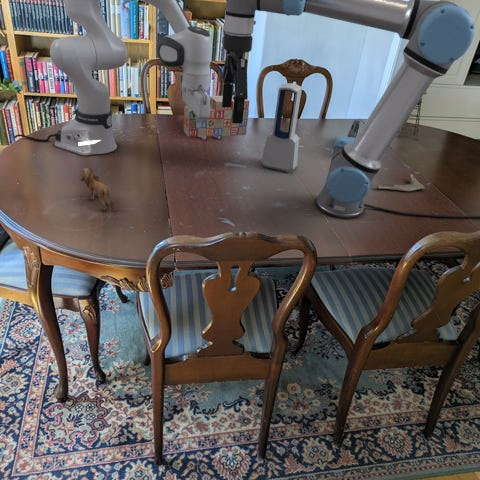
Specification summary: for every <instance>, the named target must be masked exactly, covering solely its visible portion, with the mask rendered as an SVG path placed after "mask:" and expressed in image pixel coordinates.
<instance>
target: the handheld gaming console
mask: <svg viewBox="0 0 480 480" xmlns="http://www.w3.org/2000/svg"><path fill="white" fill-rule="evenodd" d="M360 123H361V122H360V120H358V119H354V120H353V122H352V124H351V127H350V129H349V131H348V133H347V135H346V137H353V138H356V137H357V135H358V134H359V129H360Z"/></svg>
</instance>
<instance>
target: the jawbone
mask: <svg viewBox="0 0 480 480" xmlns="http://www.w3.org/2000/svg"><path fill="white" fill-rule="evenodd" d="M409 179H410V184H409V183H408V184H393V186H388V185H386V186H385V185H380V184H378V185H377V186H376V188H377V189H380V190H391V191H400V192H409V193H410V192H415V191H419V190H425V189H426V187H425V185H424V184H422V183H421V182H419V181H418V179H417V177H415V176H414V174H413V173H410V174H409Z"/></svg>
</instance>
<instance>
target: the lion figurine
mask: <svg viewBox="0 0 480 480" xmlns="http://www.w3.org/2000/svg"><path fill="white" fill-rule="evenodd" d="M77 178H78V179H79V181H80V182H81V183H82V182H84V184H85V185H86V187H87V188H88V190H89V194H90V196H89V198H88V199H89V200H94V199H95V196H96V197H98V199H99V201H100V204H101V205H102V207H101V211H106V210H107V206H106V205H108V207H109V208H110V209H111V210H115V209H116V208H115V207H113V206H112V205H111V201H110V190H109V188H108V186H107V184H104V183H103V182H102V181H101V179H100V177H99V175H98V174H97V173H96V172H95V171H94V170H93V169H91V168H89V167H85V168H82V172H80V174H79V175H78V176H77ZM94 192H95V194H94ZM104 197H105V200H106V203H105V200H104Z"/></svg>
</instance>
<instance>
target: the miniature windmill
mask: <svg viewBox="0 0 480 480" xmlns="http://www.w3.org/2000/svg"><path fill="white" fill-rule="evenodd" d="M427 94H428V93H427V91H426V92H425V93H424V95H427ZM424 95H423V96H424ZM422 100H423V97H422V98H421V99H420V101H419V102H418V105H416V107H415V108H414V110H417V112H416V114H412V113H411V114H410V115H409V117H408V118H407V120H406V121H405V123H404V124H403V126H402V127H401V129H400V132H399V135H398V137H400V138H401V136H402V133H403V131H411V132H413V135H415V140H418V134H419V126H420V125H419V124H420V120H421V119H420V118H421V117H420V116H421V110H422V109H421V108H422V107H421V106H422ZM410 116H412V117H410ZM414 117H416V118H414ZM410 119H411V120H415V124H413V125H412V124H407V122H408V120H410ZM406 126H407V127H414V129H408V128H405V127H406ZM416 137H417V138H416Z"/></svg>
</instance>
